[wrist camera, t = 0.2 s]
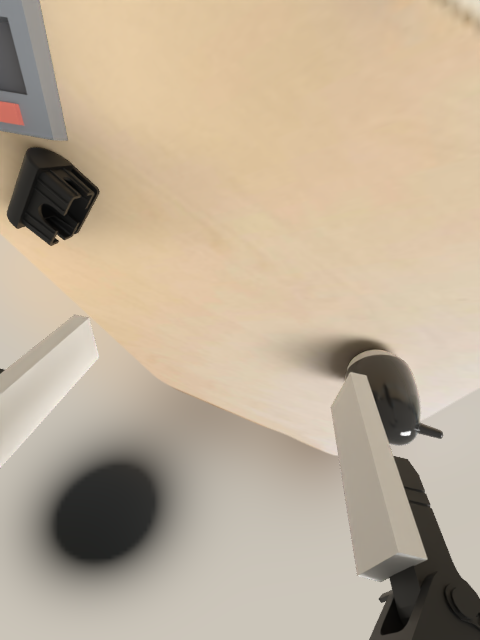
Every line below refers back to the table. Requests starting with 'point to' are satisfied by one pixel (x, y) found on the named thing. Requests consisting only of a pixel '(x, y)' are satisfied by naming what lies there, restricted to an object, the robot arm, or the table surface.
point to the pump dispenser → (393, 395)
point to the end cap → (50, 196)
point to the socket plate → (27, 74)
